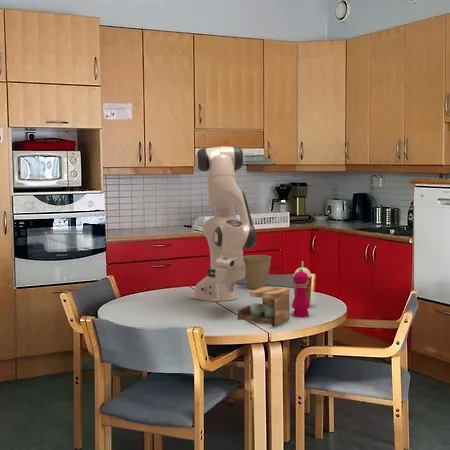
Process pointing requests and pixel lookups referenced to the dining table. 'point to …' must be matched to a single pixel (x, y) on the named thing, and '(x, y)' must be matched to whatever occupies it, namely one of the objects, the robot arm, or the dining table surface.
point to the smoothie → (308, 288)
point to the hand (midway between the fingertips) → (230, 292)
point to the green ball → (256, 310)
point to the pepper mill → (300, 295)
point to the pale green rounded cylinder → (270, 311)
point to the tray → (246, 315)
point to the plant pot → (256, 270)
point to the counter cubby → (275, 301)
